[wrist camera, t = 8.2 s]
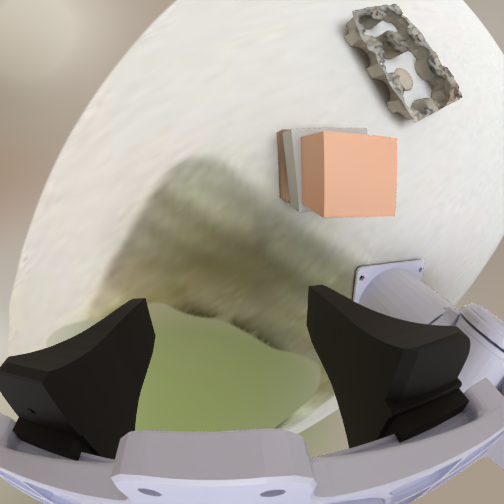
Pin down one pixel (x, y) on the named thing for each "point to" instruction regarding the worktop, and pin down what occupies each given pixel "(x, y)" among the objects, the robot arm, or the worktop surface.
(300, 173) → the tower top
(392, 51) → the egg carton
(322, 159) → the terracotta cube
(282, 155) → the tower base
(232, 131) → the worktop surface
